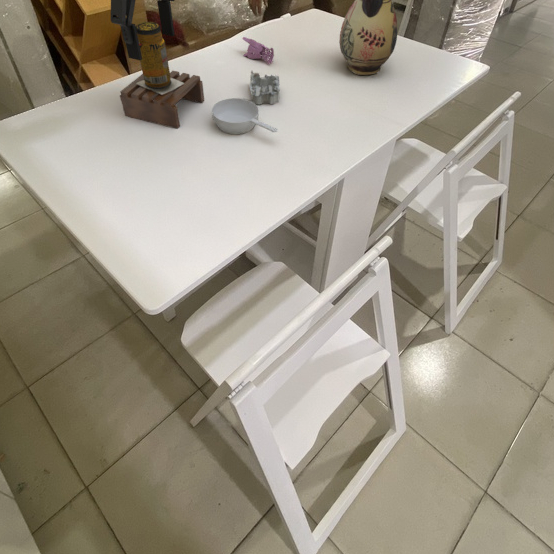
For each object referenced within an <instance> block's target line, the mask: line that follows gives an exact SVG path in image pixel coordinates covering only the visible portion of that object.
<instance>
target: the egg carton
mask: <svg viewBox="0 0 554 554" xmlns="http://www.w3.org/2000/svg"><path fill="white" fill-rule="evenodd" d="M249 89H250V93H251V94H250V95H251V102H253V103H254V104H256V105H262V104H264V103H267V104H270V105H275V104H276V103H279V98H280V95H279V94H280V93H279V92H280V90H281V87H280V76H279V75H276V74H275V75H272V74H271V75H267V74H264V76H263V77H261V75H260V73H258V72H254V71H253V70H251V71H250V80H249Z"/></svg>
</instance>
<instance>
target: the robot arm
mask: <svg viewBox="0 0 554 554" xmlns="http://www.w3.org/2000/svg"><path fill="white" fill-rule="evenodd" d="M156 2H157V3H156V4H157V8H158V9H157V10H158V14H159V16H158V17H159V22H160V28H161V33H162V35H165V36H170V37H175V35H176V34H175V27H174V20H173V12H172V6H171V5H172V4H171V2H175V0H156ZM135 6H136V0H110V23H112V24H113V25H119V26H120V30H121V34H122V39H123V41H124V43H125V47H126V52H127V55H128V58H129V59H132V60H136V61H140V60H142V55H141V50H140V46H139V41H138V36H137V31H136V23H133V19H134V18H133V17H134V12H135Z"/></svg>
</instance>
